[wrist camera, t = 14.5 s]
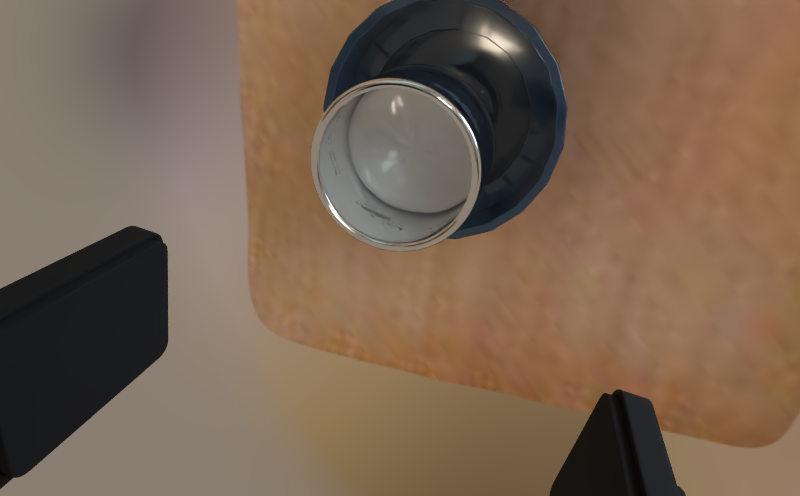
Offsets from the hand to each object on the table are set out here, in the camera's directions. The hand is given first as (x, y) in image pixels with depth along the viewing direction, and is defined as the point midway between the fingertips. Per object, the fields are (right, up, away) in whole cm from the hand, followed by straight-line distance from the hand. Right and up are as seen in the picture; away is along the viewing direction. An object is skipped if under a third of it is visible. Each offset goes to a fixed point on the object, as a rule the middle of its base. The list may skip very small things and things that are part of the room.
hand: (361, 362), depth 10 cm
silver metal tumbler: (+4, +11, +21) cm, 25 cm away
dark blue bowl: (+4, +11, +22) cm, 25 cm away
